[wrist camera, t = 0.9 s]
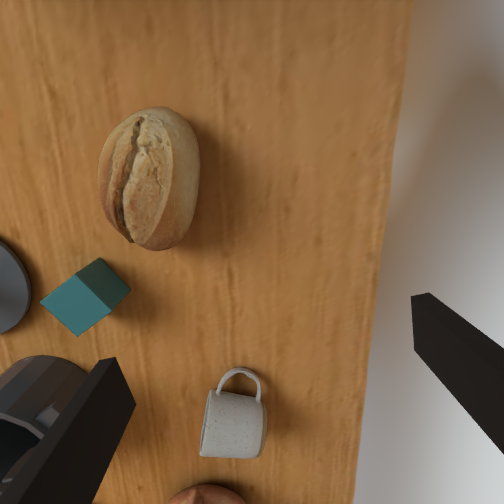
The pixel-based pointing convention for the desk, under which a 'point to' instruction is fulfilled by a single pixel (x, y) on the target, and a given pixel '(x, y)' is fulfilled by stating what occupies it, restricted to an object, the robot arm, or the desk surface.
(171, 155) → the bread roll
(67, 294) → the block
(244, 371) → the ceramic mug
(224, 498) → the ceramic jug
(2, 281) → the lid
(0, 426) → the pot
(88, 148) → the desk surface
